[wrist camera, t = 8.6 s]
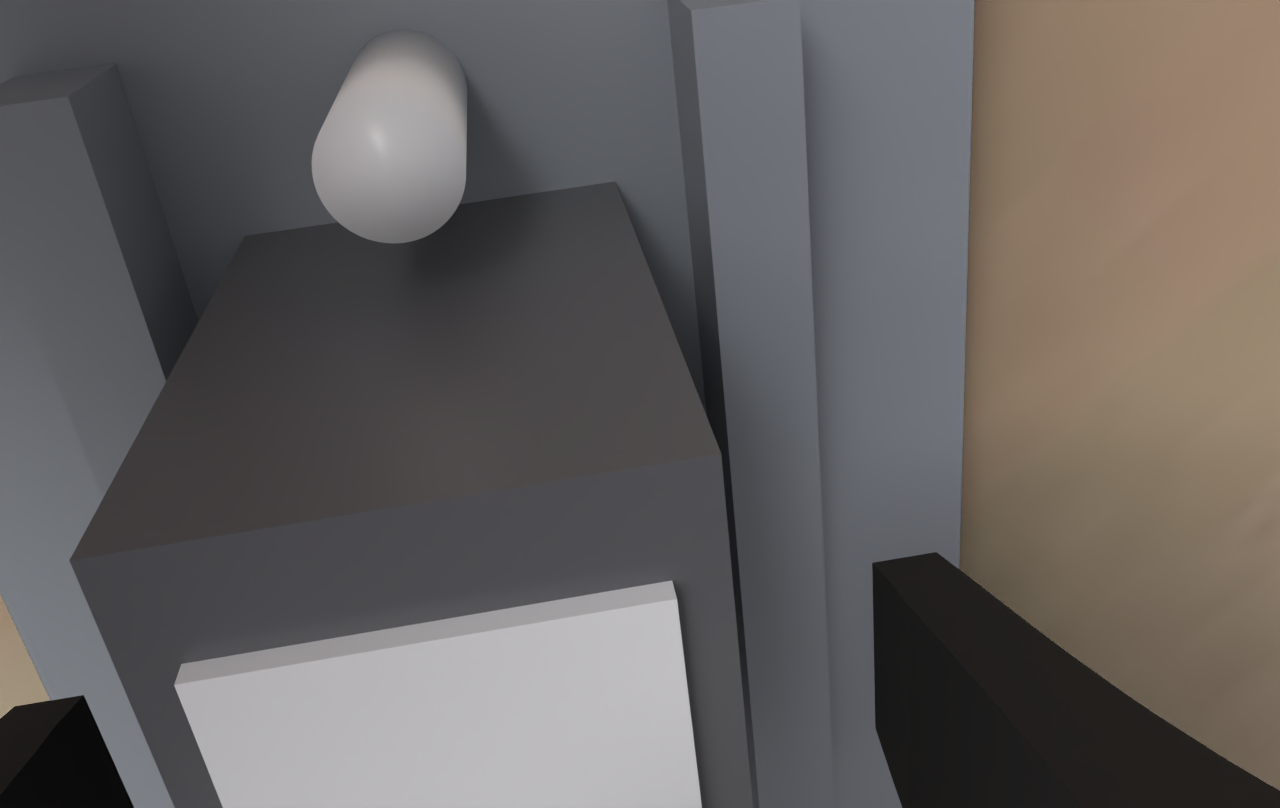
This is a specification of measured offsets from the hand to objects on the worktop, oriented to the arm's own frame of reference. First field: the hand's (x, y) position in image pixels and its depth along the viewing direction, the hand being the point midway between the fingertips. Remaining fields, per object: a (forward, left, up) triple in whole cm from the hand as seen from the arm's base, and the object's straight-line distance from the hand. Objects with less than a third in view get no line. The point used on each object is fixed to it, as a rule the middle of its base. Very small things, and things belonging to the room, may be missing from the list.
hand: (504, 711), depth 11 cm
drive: (0, 0, -4) cm, 4 cm away
